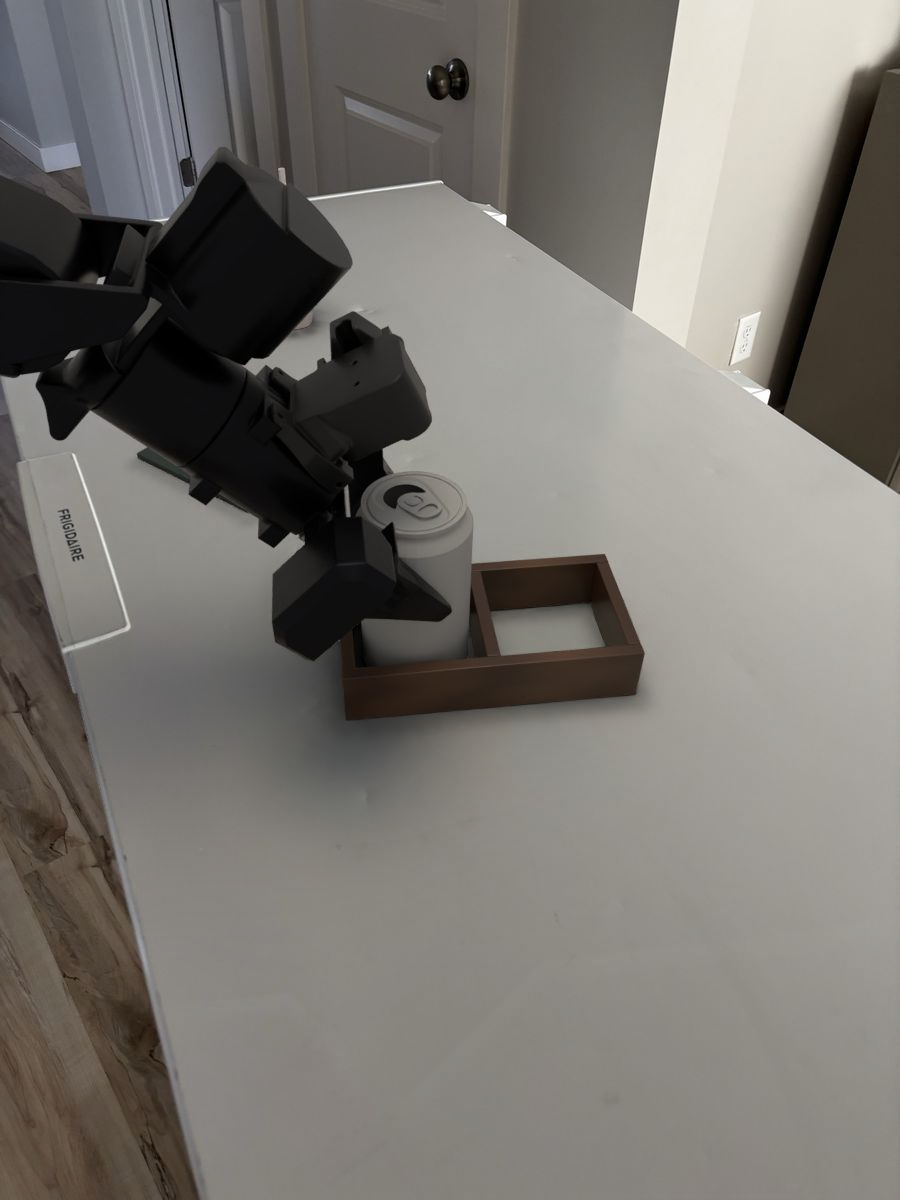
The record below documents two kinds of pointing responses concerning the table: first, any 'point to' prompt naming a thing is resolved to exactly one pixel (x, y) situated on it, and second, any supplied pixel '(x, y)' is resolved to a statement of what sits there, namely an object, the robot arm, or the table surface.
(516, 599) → the stand
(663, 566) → the table surface
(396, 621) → the beverage can
